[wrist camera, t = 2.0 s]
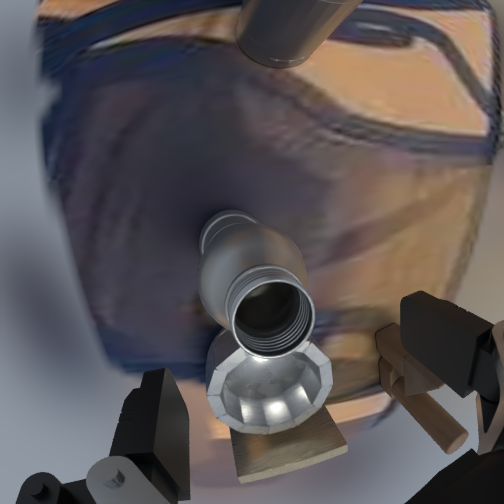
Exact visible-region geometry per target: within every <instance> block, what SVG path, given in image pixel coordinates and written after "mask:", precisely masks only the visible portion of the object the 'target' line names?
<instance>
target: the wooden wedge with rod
mask: <svg viewBox="0 0 504 504" xmlns="http://www.w3.org/2000/svg"><path fill="white" fill-rule="evenodd" d="M376 342H377V350H378V352H379V353H380V354H381V355H382V358H381V359H380V361H379V368H380V380H381V387H382V388H383V389H384V390H385V391H386V392H387V394H388V395H389V396H390V397H391V398H393V397H395V398H396V399H397V400H398V401H399V402H400V403H401V404H402V405H403V406H404V407H405V409H406V410H407V411H408V412H409V413H410V414H411V415H412V416H413V417H414V419H415V420H416V421H417V422H418V423H419V424H420V425H421V426H422V427H423V429H424V430H425V431H426V432H427V433H428V434H429V435H430V436H431V437H432V439H433V440H434V441H435V442H436V443H437V444H438V445H439V446H440V447H441V449H442V450H443V451H444V452H445V453H446V454H451V453H453V452H454V451H456V450H457V449H459V448H460V447H461V446H462V445H463V444H464V442H465V441H466V439H467V437H468V431H467V430H466V429H464V428H463V427H462V426H461V425H460V424H459V423H458V422H457V421H456V420H455V419H454V418H453V417H452V416H451V415H450V414H449V413H448V412H447V411H446V410H445V409H444V408H443V407H442V406H441V405H440V404H438V403H437V402H436V401H435V400H434V399H433V398H432V397H431V396H430V395H429V394H428V393H427V391H431V390H435V389H439V388H440V387H442V386H443V385H444V384H445V383H444V382H443V381H442V380H441V379H439V378H438V377H437V376H436V375H435V374H433V373H432V372H431V371H430V370H429V369H427V368H426V367H425V366H424V365H423V364H421V363H420V362H419V361H418V360H417V359H415V358H414V357H413V356H412V355H411V354H409V353H408V352H407V351H406V350H405V349H404V347H403V345H402V342H401V338H400V326H399V325H398V324H396V323H394V324H392V325H390V326H388V327H386V328H384V329H382V330H380V331H378V332H377V333H376Z"/></svg>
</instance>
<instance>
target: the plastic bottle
mask: <svg viewBox="0 0 504 504" xmlns="http://www.w3.org/2000/svg"><path fill="white" fill-rule="evenodd" d="M199 249H200V254H201V257H202V258H201V260H200V264H199V268H198V273H197V286H198V293H199V296H200V299H201V302H202V304H203V305H204V307H205V309H206V310H207V312H208V313H209V314H210V315H211V316H212V317H213V319H214V320H215V321H216V322H218V323H219V324H220V325H221V326H223V327H224V328H226V329H227V330H230V331H232V334H233V337H234V339H235V340H236V342H237V343H238V345H239V346H240V347H241V348H242V349H243V350H244V351H245V352H247V353H248V354H250V355H252V356H254V357H257V358H262V359H277V358H282V357H285V356H288V355H289V354H291V353H293V352H295V351H296V350H297V349H299V348H300V347H301V346H302V345H303V344H304V343H305V342H306V341H307V339H308V337H309V336H310V334H311V332H312V330H313V327H314V323H315V308H314V303H313V301H312V299H311V296H310V294H309V293H308V292H307V290H306V288H307V273H306V269H305V264H304V260H303V257H302V255H301V253H300V250H299V249H298V247H297V246H296V245H295V243H294V242H293V241H292V240H291V239H290V238H289V237H288V236H287V235H286V234H285V233H283V232H281V231H280V230H278V229H276V228H274V227H271V226H268V225H265V224H259V222H258V221H257V220H256V219H255V218H254V217H253V216H251V215H250V214H248V213H246V212H243V211H240V210H225V211H222V212H219V213H217V214H215V215H214V216H213V217H211V218H210V219H209V220H208V221H207V223H206V224H205V225H204V227H203V229H202V231H201V234H200V238H199Z"/></svg>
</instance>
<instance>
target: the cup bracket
mask: <svg viewBox="0 0 504 504" xmlns="http://www.w3.org/2000/svg"><path fill="white" fill-rule="evenodd" d="M205 373H206V392H207V398H208V401H209V403H210V405H211V408H212V410H213V412H214V415H215V417H216V418H217V419H218V420H220V421H221V422H223V423H224V424H226V425H228V426H229V428H230V434H231V441H232V447H233V453H234V459H235V465H236V470H237V476H238V479H239V480H240V482H241V483H246V482H251V481H255V480H259V479H264V478H268V477H272V476H276V475H279V474H283V473H287V472H290V471H293V470H297V469H300V468H303V467H306V466H309V465H312V464H315V463H318V462H321V461H324V460H327V459H330V458H332V457H335V456H338V455H340V454H342V453H345V452H347V443H346V441H345V439H344V438H343V436H342V434H341V433H340V431H339V429H338V427H337V426H336V424H335V422H334V421H333V419H332V417H331V415H330V414H329V412H328V410H327V409H326V407H325V405H324V401H325V399H326V397H327V395H328V393H329V392H330V390H331V388H332V384H333V380H332V370H331V361H330V359H329V358H328V357H327V355H326V354H325V353H324V351H323V350H322V349H321V347H320V346H319V345H318V343H317V342H316V341H315V339H314V338H313V337H312V336H311V335H310V336H309V337H308V339H307V341H306V342H305V343H304V344H303V345H302V346H301V347H300V348H299V349H297V350H296V351H295V352H293V353H291V354H289V355H288V356H285V357H282V358H277V359H262V358H257V357H254V356H252V355H250V354H248V353H247V352H245V351H244V350H243V349H242V348H241V347H240V346H239V345H238V343H237V342H236V340H235V339H234V337H233V334H232V331H230V330H227V329H226V328H223V329H222V330H221V331H220V332H219V333H218V334H217V335H216V337H215V338H214V340H213V341H212V343H211V345H210V348H209V350H208V355H207V362H206V366H205Z"/></svg>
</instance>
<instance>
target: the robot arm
mask: <svg viewBox="0 0 504 504" xmlns="http://www.w3.org/2000/svg"><path fill="white" fill-rule="evenodd" d="M362 1H364V0H243V3H242V7H241V10H240V14H239V18H238V22H237V26H236V39H237V42H238V44H239V46H240V48H241V49H242V50H243V51H244V53H245V54H246V55H248V56H249V57H250V58H251V59H253V60H255V61H256V62H258V63H260V64H263V65H266V66H269V67H274V68H289V67H294V66H297V65H299V64H301V63H303V62H304V61H306V60H307V59H308V58H309V57H310V55H311V54H312V53H313V52H314V51H315V50H316V49H317V48H318V47H319V46H320V45H321V44H322V43H323V42H324V40H325V39H326V38H327V37H328V36H329V35H330V34H331V33H332V32H333V31H334V30H335V29H336V28H337V27H338V26H339V25H340V24H341V23H342V21H343V20H344V19H345V18H346V17H347V16H348V15H349V14H350V13H351V12H352V11H353V10H354V9H355V8H356V7H357V6H358V5H359V4H360V3H361V2H362ZM400 338H401V342H402V345H403V347H404V349H405V350H406V351H407V352H408V353H409V354H411V355H412V356H413V357H414V358H415V359H417V360H418V361H419V362H420V363H421V364H423V365H424V366H425V367H426V368H427V369H429V370H430V371H431V372H432V373H433V374H435V375H436V376H437V377H438V378H439V379H441V380H442V381H443V382H444V383H445V384H447V385H448V386H449V387H450V388H451V389H452V390H454V391H455V392H456V393H457V394H458V395H460V396H461V397H462V398H465V397H466V396H467V395H469V394H470V393H471V392H473V391H474V390H475V391H477V392H478V393H477V396H476V408H477V419H478V432H479V446H478V451H477V453H476V452H475V451H474V450H473V449H470V450H469V451H468V452H466V453H465V454H464V455H462V456H461V457H460V458H458V459H457V460H455V461H454V462H453V463H451V464H450V465H448V466H447V467H445V468H444V469H442V470H441V471H439V472H438V473H437V474H436V475H435V476H434V477H433V478H432V479H431V480H430V481H429V482H428V483H427V484H426V485H425V486H424V487H423V488H422V489H421V490H420V491H418V492H417V493H416V494H415V495H414V496H413V497H412V498H411V499H410V500H408V501H407V502H406V503H405V504H504V320H503V321H500V322H498V323H496V324H495V325H494V324H492V323H490V322H488V321H486V320H484V319H482V318H480V317H478V316H477V315H475V314H473V313H471V312H469V311H468V312H467V311H466V310H465V309H463V308H461V307H458V306H457V305H455V304H453V303H451V302H449V301H447V300H442V299H438V298H436V297H434V296H432V295H430V294H428V293H426V292H424V291H417V292H415V293H413V294H410V295H408V296H405V297H403V298H402V300H401V303H400ZM121 412H122V413H121V414H120V417H119V423H118V424H117V428H116V431H115V435H114V439H113V442H112V446H111V450H110V454H109V457H106V458H104V459H101V460H100V461H98V462H96V463H95V464H94V465H93V466H92V467H91V469H90V470H89V471H88V474H87V477H86V479H83V480H79V481H74V482H70V483H65V484H62V483H61V482H60V481H59V480H58V479H57V478H56V477H55V476H53V475H52V474H49V473H45V472H40V473H36V474H34V475H32V476H30V477H29V478H27V479H26V481H25V482H24V483H23V485H22V487H21V489H20V492H19V495H18V498H17V501H16V504H178V501H184V500H190V466H189V415H188V411H187V407H186V404H185V402H184V400H183V398H182V396H181V393H180V391H179V389H178V387H177V385H176V382H175V380H174V378H173V376H172V373H171V371H170V370H169V369H168V368H162V369H156V370H151V371H146V372H144V375H143V379H142V382H141V386H140V388H136V389H133V390H132V391H131V393H130V394H129V395H128V396H127V398H126V399H125V400H124V404H123V407H122V410H121Z"/></svg>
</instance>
